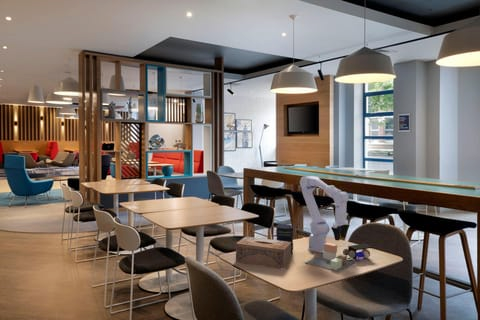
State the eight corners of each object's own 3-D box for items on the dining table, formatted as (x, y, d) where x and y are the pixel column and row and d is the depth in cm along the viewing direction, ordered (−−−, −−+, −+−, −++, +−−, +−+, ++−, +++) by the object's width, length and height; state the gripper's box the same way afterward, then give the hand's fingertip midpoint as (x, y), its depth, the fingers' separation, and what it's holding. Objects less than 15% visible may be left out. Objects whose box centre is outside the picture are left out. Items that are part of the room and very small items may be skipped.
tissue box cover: (290, 260, 200) (291, 242, 200) (283, 269, 187) (284, 249, 186) (245, 254, 210) (245, 236, 209) (235, 262, 196) (235, 243, 196)
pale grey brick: (322, 258, 204) (323, 250, 203) (325, 256, 206) (325, 249, 206) (333, 260, 200) (333, 253, 200) (335, 259, 202) (336, 251, 202)
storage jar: (272, 252, 213) (272, 226, 212) (281, 248, 221) (282, 223, 220) (286, 256, 207) (287, 229, 206) (296, 252, 214) (297, 226, 213)
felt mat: (304, 263, 196) (304, 262, 196) (323, 254, 211) (323, 253, 211) (339, 272, 184) (339, 271, 184) (355, 262, 199) (355, 261, 199)
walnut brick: (341, 266, 191) (341, 258, 191) (335, 264, 194) (336, 257, 193) (346, 263, 196) (346, 255, 196) (340, 261, 198) (341, 254, 198)
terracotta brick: (323, 251, 203) (324, 243, 203) (326, 249, 205) (326, 242, 205) (334, 253, 199) (334, 246, 199) (336, 252, 202) (337, 244, 201)
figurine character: (351, 264, 198) (373, 259, 204) (350, 250, 197) (372, 245, 203) (342, 261, 204) (364, 255, 210) (342, 247, 203) (364, 242, 209)
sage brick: (336, 270, 186) (336, 262, 186) (330, 268, 188) (330, 260, 188) (341, 266, 190) (341, 259, 190) (335, 265, 192) (336, 257, 192)
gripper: (341, 217, 197) (341, 242, 197) (353, 213, 208) (352, 237, 208) (329, 215, 201) (328, 240, 202) (341, 211, 212) (340, 235, 213)
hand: (340, 238), depth 205 cm, fingers open, 7 cm apart
